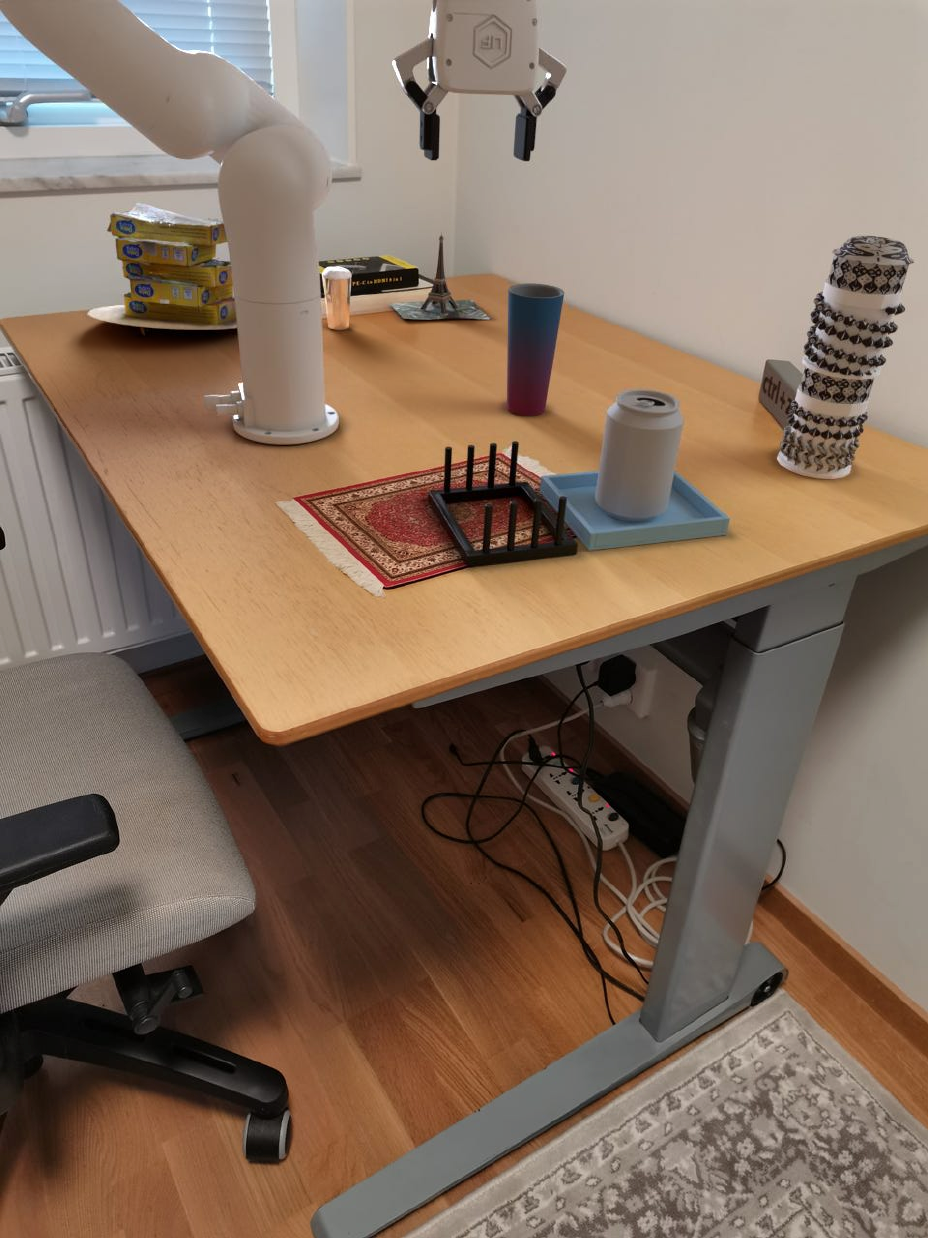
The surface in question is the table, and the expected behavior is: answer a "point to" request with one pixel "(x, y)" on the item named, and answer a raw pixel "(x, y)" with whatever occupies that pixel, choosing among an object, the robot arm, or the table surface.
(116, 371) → the table surface
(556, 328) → the cup
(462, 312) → the eiffel tower figurine
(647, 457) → the can
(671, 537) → the tray
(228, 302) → the stacked yellow boxes
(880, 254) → the decorative candle
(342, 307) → the glass of beer
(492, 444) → the dish rack
